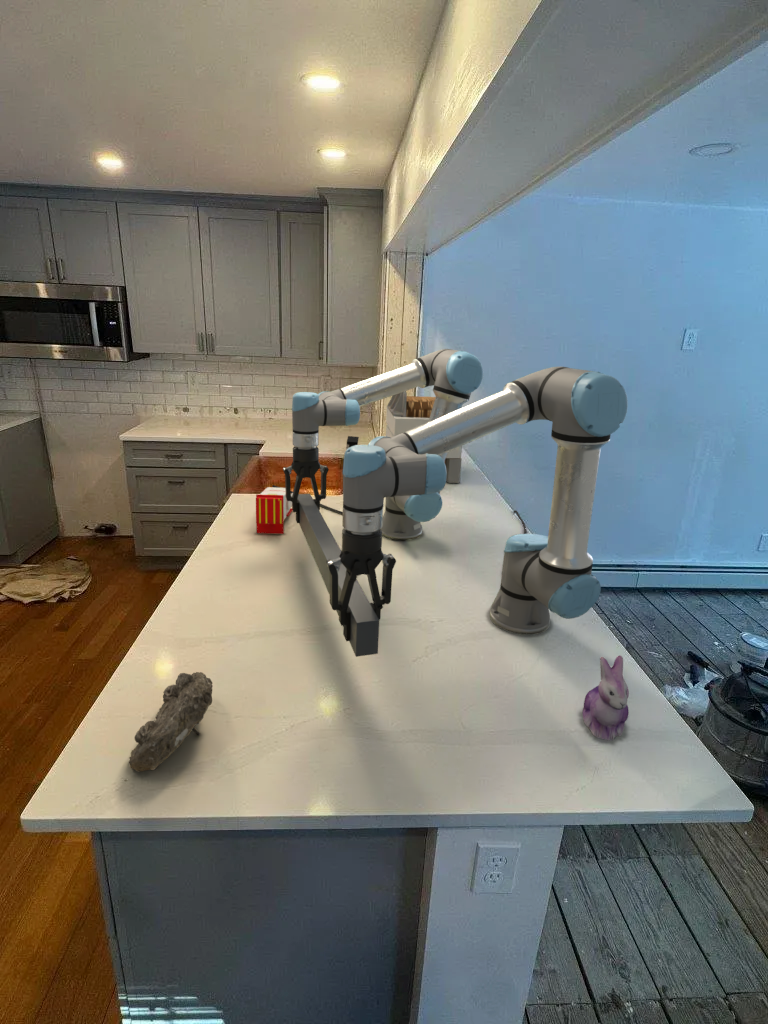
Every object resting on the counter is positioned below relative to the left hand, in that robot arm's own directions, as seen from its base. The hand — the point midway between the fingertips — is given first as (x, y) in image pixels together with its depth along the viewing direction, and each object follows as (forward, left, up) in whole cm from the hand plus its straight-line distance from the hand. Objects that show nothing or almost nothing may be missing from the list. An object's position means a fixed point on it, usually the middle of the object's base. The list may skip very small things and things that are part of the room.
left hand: (306, 520), depth 173 cm
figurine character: (-101, +96, -12) cm, 140 cm away
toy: (-34, +9, -12) cm, 38 cm away
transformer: (-51, +99, -12) cm, 112 cm away
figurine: (+99, +4, -12) cm, 100 cm away
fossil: (+51, -61, -12) cm, 80 cm away
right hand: (+60, -27, 0) cm, 66 cm away
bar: (+30, -13, -1) cm, 33 cm away
